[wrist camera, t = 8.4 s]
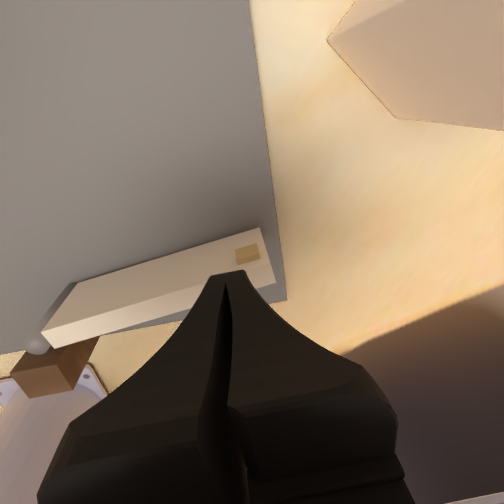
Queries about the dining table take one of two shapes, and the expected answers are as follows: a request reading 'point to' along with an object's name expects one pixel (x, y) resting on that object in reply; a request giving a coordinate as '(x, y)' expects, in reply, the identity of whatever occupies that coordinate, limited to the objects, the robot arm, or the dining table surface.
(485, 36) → the milk
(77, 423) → the robot arm
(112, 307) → the gate leaf
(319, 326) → the dining table surface
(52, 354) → the gate posts
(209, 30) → the base
